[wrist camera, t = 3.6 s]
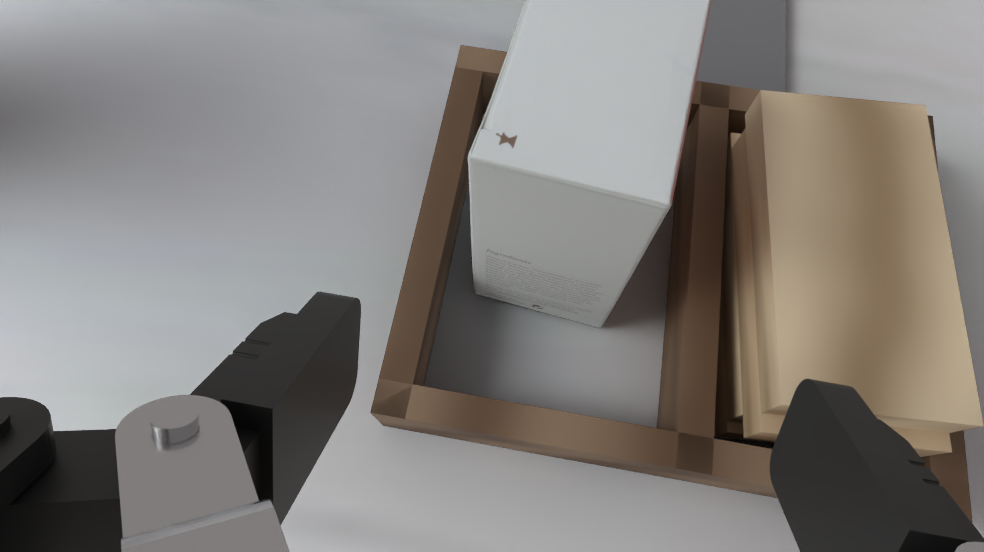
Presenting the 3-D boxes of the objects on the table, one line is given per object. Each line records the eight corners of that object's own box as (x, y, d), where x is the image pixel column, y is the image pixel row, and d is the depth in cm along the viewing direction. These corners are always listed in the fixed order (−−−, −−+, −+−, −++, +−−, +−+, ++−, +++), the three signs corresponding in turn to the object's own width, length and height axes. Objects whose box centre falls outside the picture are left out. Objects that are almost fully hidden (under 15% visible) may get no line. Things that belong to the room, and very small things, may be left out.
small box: (601, 332, 26) (674, 214, 16) (470, 295, 26) (462, 160, 16) (639, 169, 29) (720, -16, 19) (520, 139, 29) (539, -56, 19)
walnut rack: (383, 425, 24) (370, 412, 21) (462, 89, 30) (460, 44, 27) (913, 522, 23) (971, 522, 20) (889, 155, 29) (932, 116, 26)
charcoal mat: (531, 65, 31) (532, 57, 30) (556, -68, 34) (557, -77, 33) (780, 103, 30) (785, 95, 29) (781, -36, 33) (786, -45, 33)
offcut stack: (713, 447, 24) (782, 424, 19) (706, 170, 29) (760, 85, 23) (870, 464, 24) (987, 446, 19) (838, 183, 29) (924, 100, 23)
